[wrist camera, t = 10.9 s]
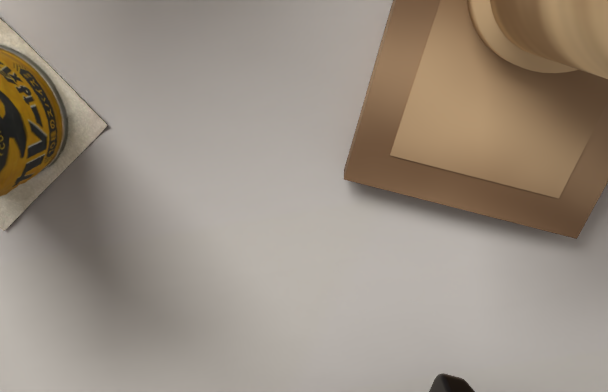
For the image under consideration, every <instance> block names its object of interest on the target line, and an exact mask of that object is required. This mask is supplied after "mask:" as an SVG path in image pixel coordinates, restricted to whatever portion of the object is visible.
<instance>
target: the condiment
mask: <svg viewBox="0 0 608 392" xmlns="http://www.w3.org/2000/svg"><path fill="white" fill-rule="evenodd" d="M107 126H108V125H107V124H106V123H105V122H104V121H103V120H102V119H101V118H100V117H99V116H98V115H97V114H96V113H95V112H94V111H93V110H92V109H91V108H90V107H89V106H88V105H87V103H86V102H85V101H84V100H82V99H81V98H80V97H79V96H78V95H77V93H76V92H75V91H74V90H73V89H72V88H71V87H70V86H69V85H68V84H67V83H66V82H65V81H64V80H63V79H62V78H61V77H60V76H59V75H58V74H57V73H56V72H55V71H54V70H53V69H52V68H51V67H50V66H49V65H48V64H47V63H46V62H45V61H44V60H43V59H42V58H41V57H40V56H39V55H38V54H37V53H36V52H35V51H34V50H33V49H32V48H31V47H30V46H29V45H28V44H27V43H26V42H25V41H24V40H23V39H22V38H21V37H20V36H19V35H18V34H17V33H16V32H15V31H13V30H12V29H11V28H10V27H9V26H8V25H7V24H6V23H5V22H3V21H2V20H1V19H0V228H1V229H2V230H3V231H5V230H6V229H7V228H8V227H9V226H10V225H11V224H12V223H13V221H14V220H15V219H17V218H18V217H19V216H20V215H21V214H22V212H23V211H24V210H25V209H26V208H27V207H28V206H29V205H30V204H31V203H32V202H33V201H34V200H35V199H36V198H37V197H38V196H39V195H40V194H41V193H42V192H43V191H44V190H45V189H46V188H47V187H48V186H49V185H50V184H51V183H52V182H53V181H54V180H55V179H56V178H57V177H58V176H59V175H60V174H61V173H62V172H63V171H64V170H65V169H66V168H67V167H68V166H69V165H70V164H71V163H72V162H73V161H74V160H75V159H76V158H77V157H78V156H79V155H80V154H81V153H82V152H83V151H84V150H85V149H86V148H87V146H88V145H89V144H90V143H91V142H92V141H94V140H95V138H96V137H97V136H98V135H99V134H100V133H101V132H102V131H103V130H104V129H105V128H106V127H107Z"/></svg>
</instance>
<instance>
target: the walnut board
mask: <svg viewBox="0 0 608 392" xmlns="http://www.w3.org/2000/svg"><path fill="white" fill-rule="evenodd" d="M344 179H345V180H348V181H352V182H356V183H360V184H364V185H368V186H372V187H376V188H380V189H384V190H388V191H392V192H395V193H399V194H403V195H407V196H411V197H415V198H419V199H423V200H427V201H431V202H435V203H439V204H442V205H446V206H450V207H454V208H458V209H462V210H466V211H470V212H474V213H478V214H482V215H486V216H489V217H493V218H497V219H501V220H505V221H509V222H513V223H517V224H521V225H525V226H529V227H533V228H536V229H540V230H544V231H548V232H552V233H556V234H560V235H564V236H568V237H572V238H576V239H577V237H578V235H579V234H580V232H581V230H582V228H583V226H584V225H585V223H586V221H587V219H588V217H589V215H590V214H591V212H592V210H593V208H594V206H595V204H596V203H597V201H598V199H599V197H600V195H601V193H602V192H603V190H604V188H605V186H606V184H607V182H608V79H606V78H603V77H600V76H597V75H594V74H591V73H588V72H585V71H581V70H575V71H570V72H563V73H542V72H536V71H531V70H528V69H525V68H522V67H519V66H517V65H514V64H512V63H510V62H508V61H506V60H504V59H502V58H501V57H499V56H498V55H496V54H495V53H493V52H492V51H491V50H490V49H489V48H488V47H487V46H486V45H485V44H484V42H483V41H482V40H481V38H480V37H479V35H478V34H477V32H476V30H475V28H474V26H473V23H472V21H471V18H470V15H469V11H468V6H467V0H393V3H392V6H391V10H390V13H389V17H388V20H387V24H386V27H385V31H384V34H383V37H382V41H381V44H380V48H379V51H378V55H377V58H376V62H375V65H374V69H373V72H372V75H371V79H370V82H369V86H368V89H367V93H366V96H365V100H364V103H363V107H362V110H361V113H360V117H359V120H358V124H357V127H356V131H355V134H354V138H353V141H352V145H351V148H350V151H349V155H348V158H347V162H346V165H345V169H344Z"/></svg>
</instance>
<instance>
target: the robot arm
mask: <svg viewBox="0 0 608 392" xmlns="http://www.w3.org/2000/svg"><path fill="white" fill-rule="evenodd" d="M429 392H474V390H473V389H472V388H471V387H470V386H469V384H468V383H467V382H466V381H465V380H464V379H462V378H459V377H455V376H451V375H447V374H439V375H438V376H437V377H436V378H435V380H434V382H433V384H432V387H431V389H430V391H429Z"/></svg>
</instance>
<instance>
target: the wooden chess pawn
mask: <svg viewBox="0 0 608 392" xmlns="http://www.w3.org/2000/svg"><path fill="white" fill-rule="evenodd" d="M467 6H468V11H469V15H470V18H471V21H472V23H473V26H474V28H475V30H476V32H477V34H478V35H479V37H480V38H481V40H482V41H483V42H484V44H485V45H486V46H487V47H488V48H489V49H490V50H491V51H492V52H493V53H495V54H496V55H498V56H499V57H501V58H502V59H504V60H506V61H508V62H510V63H512V64H514V65H517V66H519V67H522V68H525V69H528V70H531V71H536V72H542V73H563V72H570V71H575V70H581V71H585V72H588V73H591V74H594V75H597V76H600V77H603V78H606V79H608V0H467Z"/></svg>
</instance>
